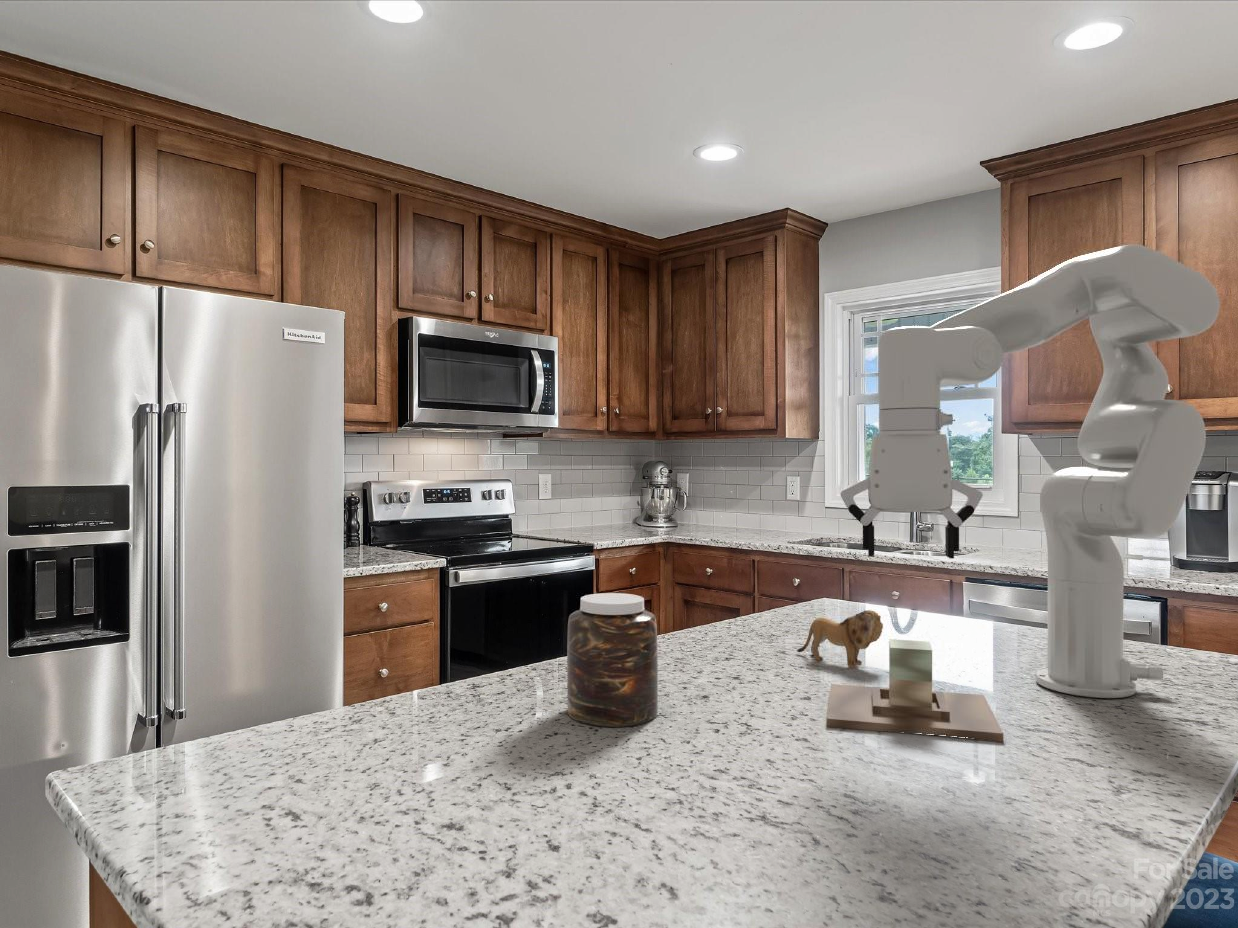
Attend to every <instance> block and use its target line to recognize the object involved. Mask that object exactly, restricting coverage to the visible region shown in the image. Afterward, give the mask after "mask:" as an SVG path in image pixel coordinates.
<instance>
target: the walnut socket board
mask: <svg viewBox="0 0 1238 928" xmlns="http://www.w3.org/2000/svg"><path fill="white" fill-rule="evenodd" d="M829 689H830V690H829V697H828V705H827V714H826V727H827V728H828V727H829V728H836V729H837V728H840V729H848V730H849V729H850V730H860V731H874V732H883V731H888V732H887V733H894V732H904V733H903V734H906V733H922V734H934V735H946V736H957V737H965V738H966V737H968V738H974V739H973V740H975V739H983V740H982V741H986V740H994V741H993V742H999V743H1004V732H1003V730H1002V728H1001V726H1000V724H999V722H998V720H997V717H995V714H994V713H993V711H992V708H991V706H990V704H989V703H988V701H987V699H986V697H985V695H984V694H974V693H960V692H948V691H940V690H939V691H938V690H932V708H924V707H911V706H898V705H890V702H889V687H886V686H866V685H865V686H864V685H851V684H838V683H830V688H829Z"/></svg>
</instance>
